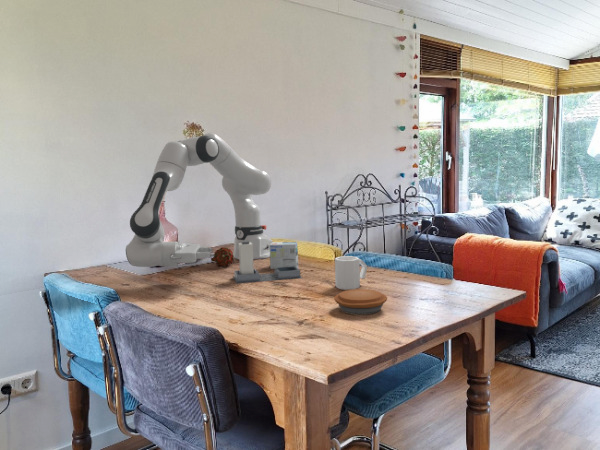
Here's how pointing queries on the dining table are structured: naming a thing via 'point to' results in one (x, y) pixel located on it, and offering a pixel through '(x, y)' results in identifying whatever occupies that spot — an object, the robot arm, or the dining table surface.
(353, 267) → the mug
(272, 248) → the light bulb box
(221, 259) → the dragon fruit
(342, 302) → the pie
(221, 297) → the dining table surface
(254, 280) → the grey double tray
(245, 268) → the white rectangular bottle
